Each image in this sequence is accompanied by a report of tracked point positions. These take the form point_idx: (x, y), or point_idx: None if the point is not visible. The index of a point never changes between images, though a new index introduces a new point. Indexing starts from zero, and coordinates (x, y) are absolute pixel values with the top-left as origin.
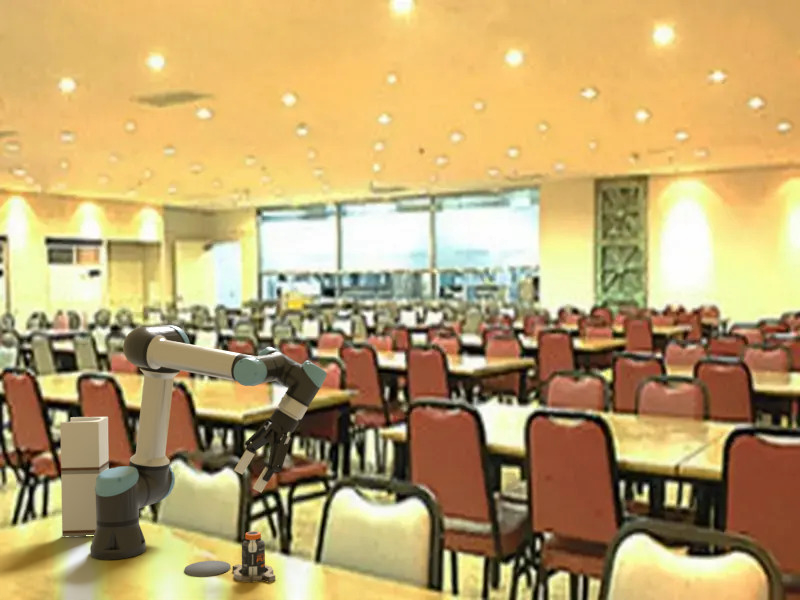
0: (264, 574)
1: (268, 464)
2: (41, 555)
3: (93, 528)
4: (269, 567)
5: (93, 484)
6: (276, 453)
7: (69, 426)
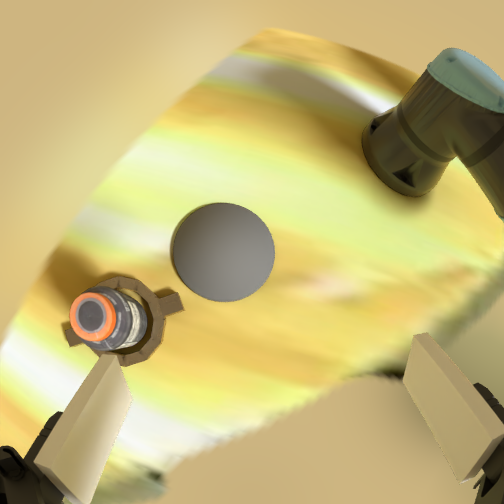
0: None
1: (30, 487)
2: (406, 89)
3: None
4: (122, 361)
5: None
6: None
7: None
